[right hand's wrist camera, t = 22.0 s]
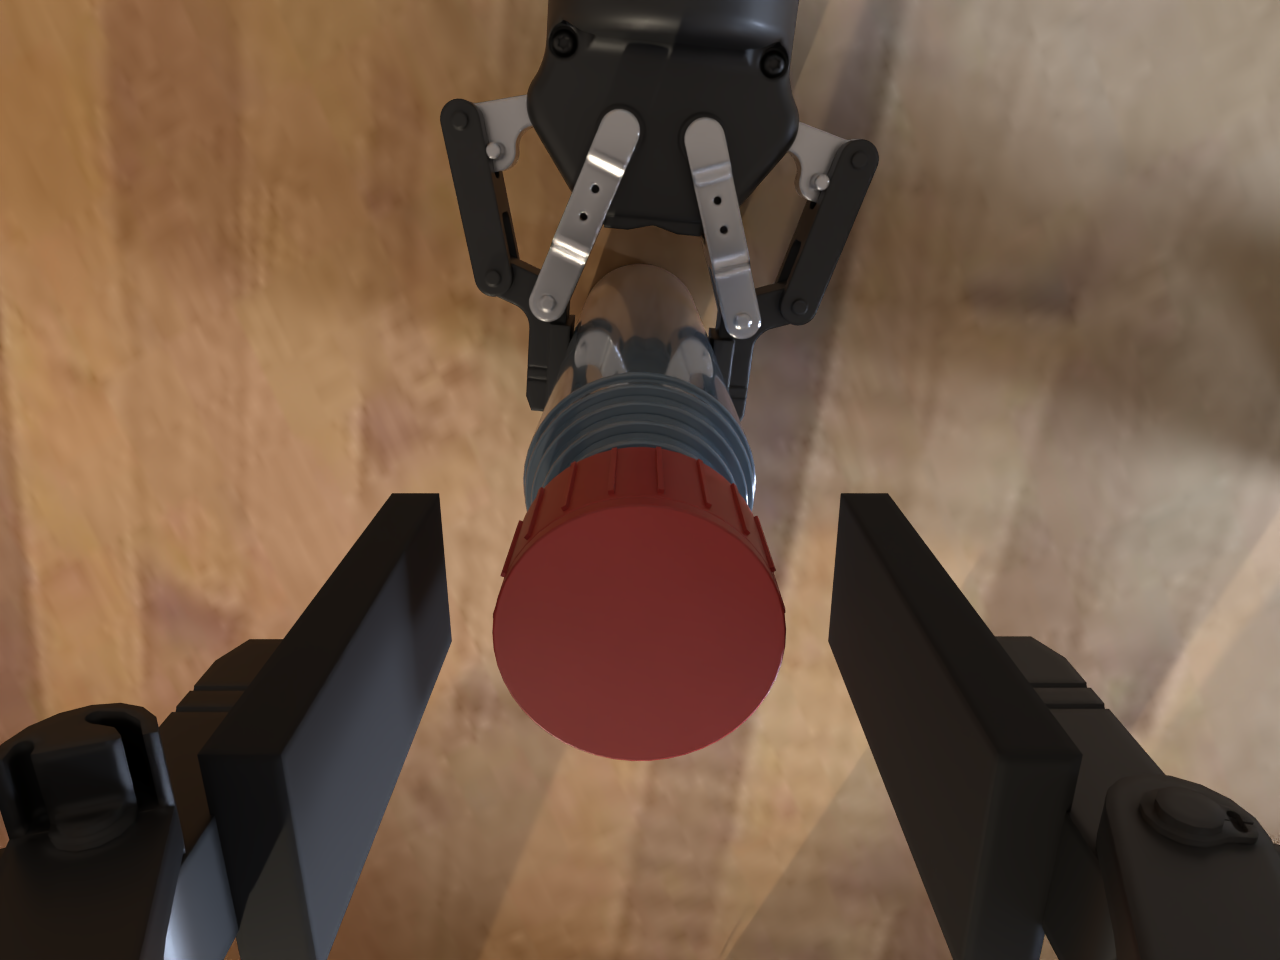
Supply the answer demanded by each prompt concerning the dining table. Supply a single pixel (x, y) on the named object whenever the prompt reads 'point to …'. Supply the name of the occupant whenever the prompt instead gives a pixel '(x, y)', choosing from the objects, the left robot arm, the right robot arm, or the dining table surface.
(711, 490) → the cap
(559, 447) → the bottle
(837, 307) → the dining table surface
